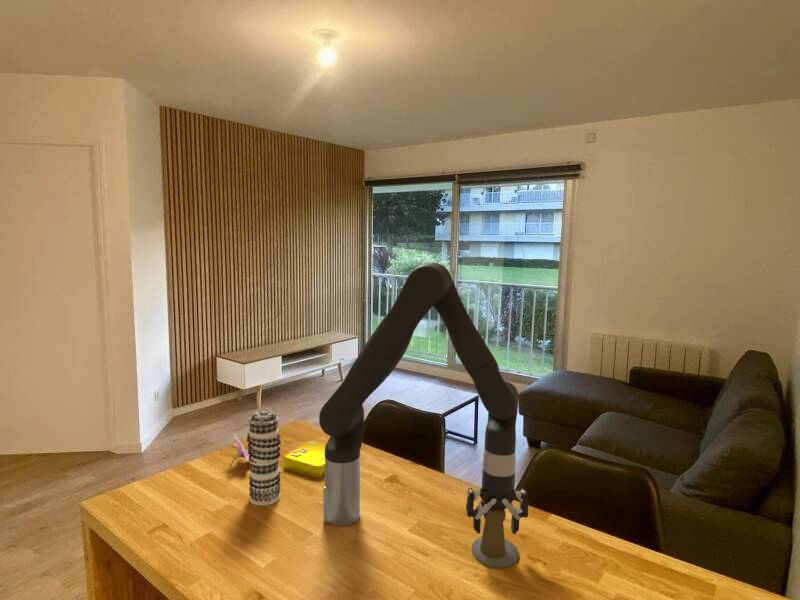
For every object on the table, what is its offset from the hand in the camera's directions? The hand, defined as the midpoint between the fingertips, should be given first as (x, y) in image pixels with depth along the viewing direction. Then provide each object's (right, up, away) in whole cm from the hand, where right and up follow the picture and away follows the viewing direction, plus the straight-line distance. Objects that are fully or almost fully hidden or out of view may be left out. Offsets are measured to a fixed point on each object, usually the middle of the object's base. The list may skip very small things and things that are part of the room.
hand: (495, 531), depth 113 cm
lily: (-74, +1, +42) cm, 85 cm away
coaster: (0, -5, +1) cm, 5 cm away
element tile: (-51, +1, +44) cm, 67 cm away
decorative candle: (-61, -1, +23) cm, 65 cm away
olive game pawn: (-1, -5, +1) cm, 5 cm away
